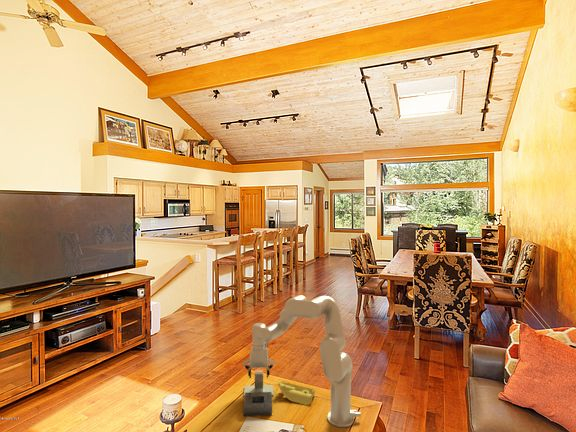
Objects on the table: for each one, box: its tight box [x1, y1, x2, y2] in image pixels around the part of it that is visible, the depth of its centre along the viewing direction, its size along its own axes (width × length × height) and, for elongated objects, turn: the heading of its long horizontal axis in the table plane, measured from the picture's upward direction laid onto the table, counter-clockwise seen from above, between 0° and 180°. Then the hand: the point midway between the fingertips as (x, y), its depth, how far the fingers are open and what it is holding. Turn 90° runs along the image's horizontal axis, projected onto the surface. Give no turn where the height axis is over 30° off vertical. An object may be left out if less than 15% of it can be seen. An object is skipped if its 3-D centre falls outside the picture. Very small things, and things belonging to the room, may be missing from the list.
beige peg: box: [254, 369, 264, 392], centre depth 183 cm, size 5×5×10 cm
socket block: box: [242, 392, 273, 417], centre depth 168 cm, size 14×14×4 cm
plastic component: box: [278, 381, 316, 406], centre depth 179 cm, size 20×7×10 cm
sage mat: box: [243, 384, 274, 398], centre depth 183 cm, size 16×10×1 cm, turn 94°
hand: (258, 376), depth 183 cm, fingers open, 9 cm apart
